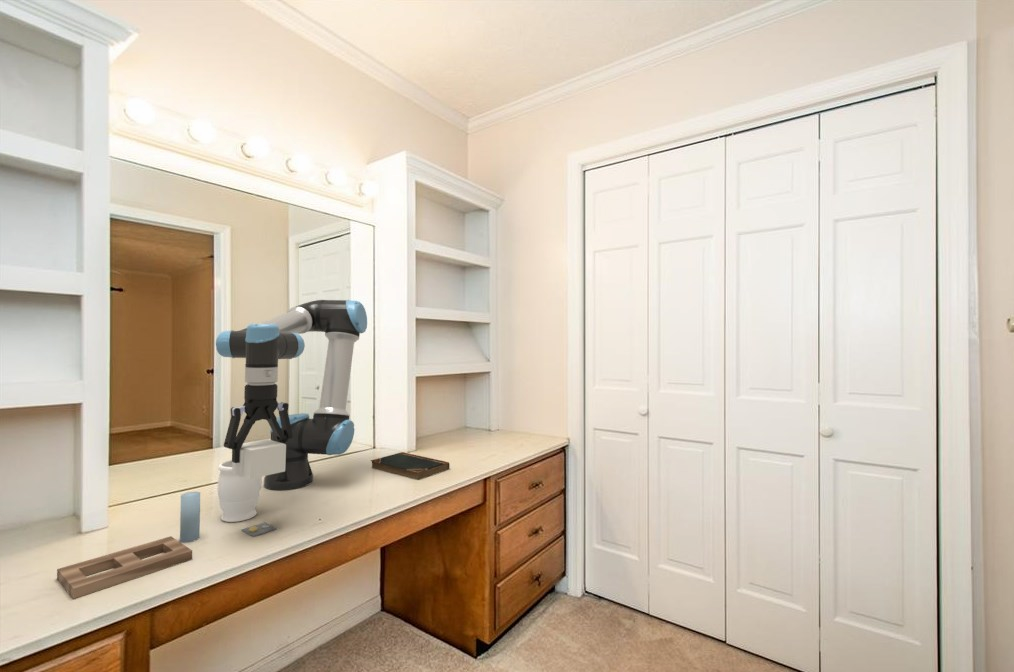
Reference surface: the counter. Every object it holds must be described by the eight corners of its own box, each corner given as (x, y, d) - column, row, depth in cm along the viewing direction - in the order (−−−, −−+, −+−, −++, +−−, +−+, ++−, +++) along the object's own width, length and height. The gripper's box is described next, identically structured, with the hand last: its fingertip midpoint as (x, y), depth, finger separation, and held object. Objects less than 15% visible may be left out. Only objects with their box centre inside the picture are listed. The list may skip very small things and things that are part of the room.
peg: (177, 539, 115) (178, 494, 115) (195, 534, 118) (196, 490, 118) (183, 543, 112) (184, 498, 112) (202, 538, 116) (203, 493, 115)
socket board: (57, 578, 95) (57, 569, 95) (170, 544, 112) (171, 536, 112) (73, 599, 88) (73, 588, 88) (192, 559, 105) (192, 550, 105)
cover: (232, 472, 119) (233, 444, 119) (267, 465, 126) (268, 439, 126) (249, 479, 114) (250, 450, 114) (285, 471, 121) (286, 444, 121)
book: (369, 469, 179) (417, 482, 165) (370, 460, 179) (417, 471, 165) (403, 460, 193) (449, 470, 180) (403, 451, 193) (449, 461, 180)
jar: (251, 506, 137) (252, 455, 137) (267, 516, 130) (268, 462, 130) (210, 517, 129) (212, 463, 129) (225, 527, 122) (226, 470, 122)
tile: (241, 530, 120) (241, 526, 120) (265, 523, 125) (265, 519, 125) (253, 537, 117) (253, 532, 117) (276, 529, 122) (276, 525, 122)
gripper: (222, 387, 109) (220, 484, 109) (308, 382, 127) (306, 464, 127) (208, 385, 113) (205, 477, 113) (293, 380, 131) (291, 460, 131)
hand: (259, 470), depth 120 cm, fingers closed on cover, 9 cm apart
